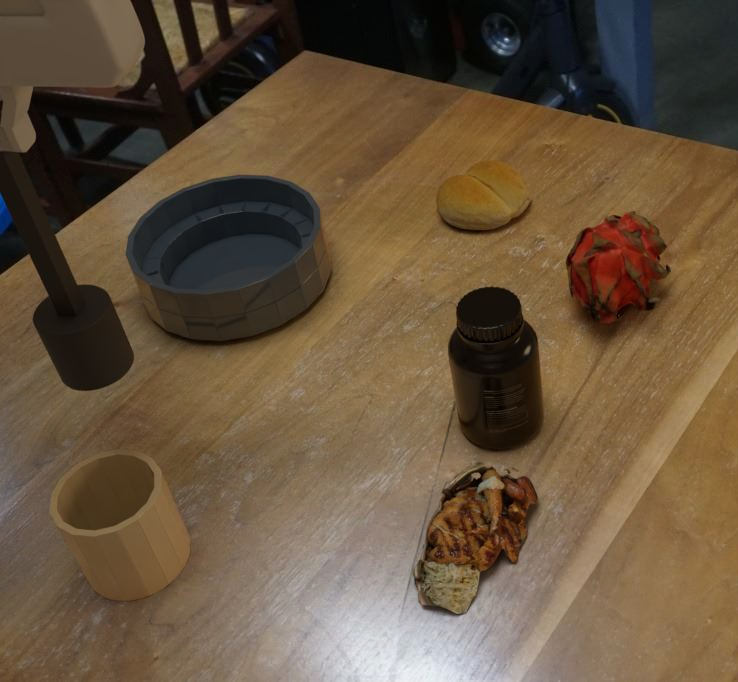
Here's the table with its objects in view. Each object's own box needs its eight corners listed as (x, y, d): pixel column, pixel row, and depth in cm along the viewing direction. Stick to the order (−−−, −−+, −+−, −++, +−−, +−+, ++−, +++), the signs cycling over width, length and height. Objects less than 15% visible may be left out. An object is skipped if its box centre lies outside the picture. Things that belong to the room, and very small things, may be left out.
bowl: (116, 339, 97) (94, 288, 93) (185, 221, 110) (168, 171, 106) (302, 351, 95) (288, 298, 91) (352, 228, 107) (341, 177, 103)
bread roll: (422, 209, 109) (417, 175, 106) (494, 172, 112) (491, 139, 110) (472, 247, 104) (469, 213, 101) (545, 208, 108) (544, 174, 105)
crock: (71, 599, 78) (30, 530, 72) (113, 515, 83) (78, 445, 77) (169, 609, 76) (135, 540, 71) (206, 523, 82) (177, 453, 76)
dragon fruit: (647, 268, 102) (605, 366, 96) (573, 216, 101) (526, 312, 94) (701, 226, 95) (660, 329, 89) (623, 170, 94) (575, 270, 87)
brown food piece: (398, 602, 76) (391, 572, 73) (456, 471, 84) (451, 440, 81) (495, 625, 74) (491, 595, 71) (544, 489, 82) (542, 457, 80)
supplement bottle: (555, 398, 89) (549, 286, 81) (527, 461, 84) (518, 347, 76) (476, 381, 91) (462, 269, 83) (445, 441, 86) (427, 329, 78)
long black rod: (47, 389, 71) (-98, 106, 57) (79, 338, 75) (-51, 60, 60) (117, 393, 71) (-13, 108, 56) (145, 342, 74) (30, 61, 60)
